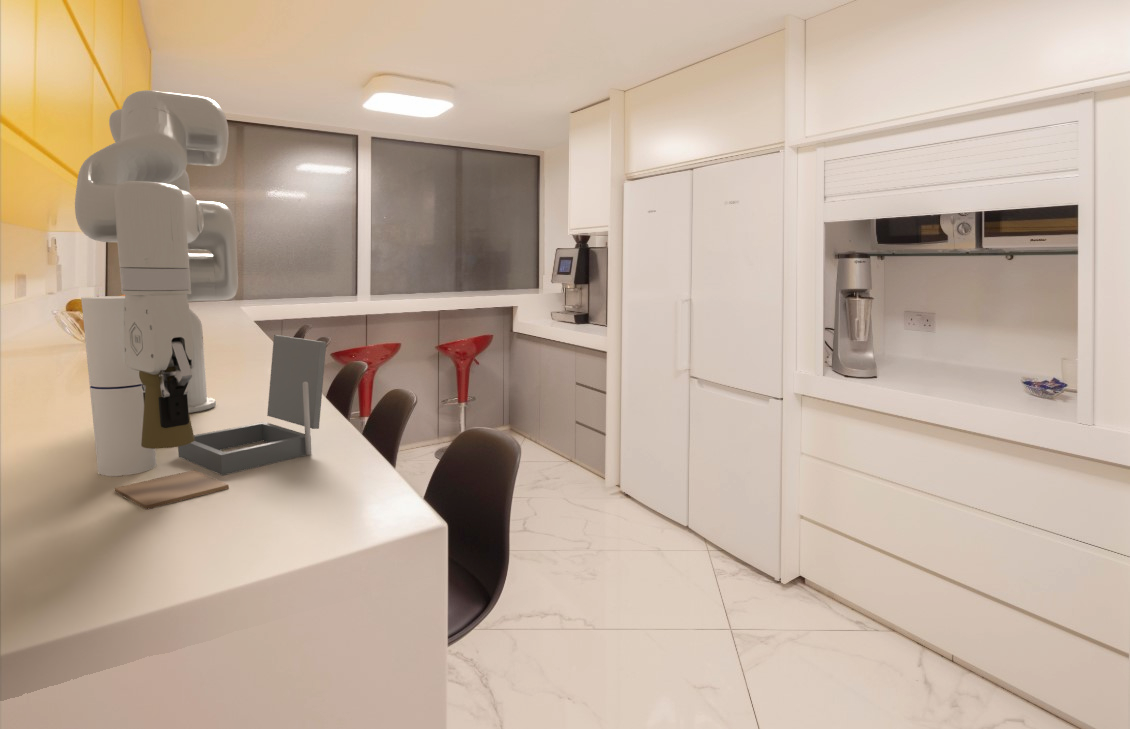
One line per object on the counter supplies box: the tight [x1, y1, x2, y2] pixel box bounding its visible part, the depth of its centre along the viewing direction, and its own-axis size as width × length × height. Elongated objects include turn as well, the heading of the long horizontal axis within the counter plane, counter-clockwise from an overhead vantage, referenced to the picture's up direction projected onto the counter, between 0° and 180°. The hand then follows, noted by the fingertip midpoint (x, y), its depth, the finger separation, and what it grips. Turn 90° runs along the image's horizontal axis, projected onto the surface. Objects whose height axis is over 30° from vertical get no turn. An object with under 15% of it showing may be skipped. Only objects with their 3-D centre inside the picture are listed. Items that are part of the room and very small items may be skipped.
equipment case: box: [177, 382, 312, 476], centre depth 101 cm, size 15×14×12 cm
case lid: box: [266, 334, 327, 430], centre depth 107 cm, size 14×14×1 cm
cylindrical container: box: [81, 295, 158, 477], centre depth 93 cm, size 7×7×25 cm
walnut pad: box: [114, 469, 230, 510], centre depth 86 cm, size 10×10×1 cm
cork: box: [139, 366, 195, 450], centre depth 84 cm, size 6×6×11 cm
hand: (167, 421), depth 85 cm, fingers closed on cork, 4 cm apart
